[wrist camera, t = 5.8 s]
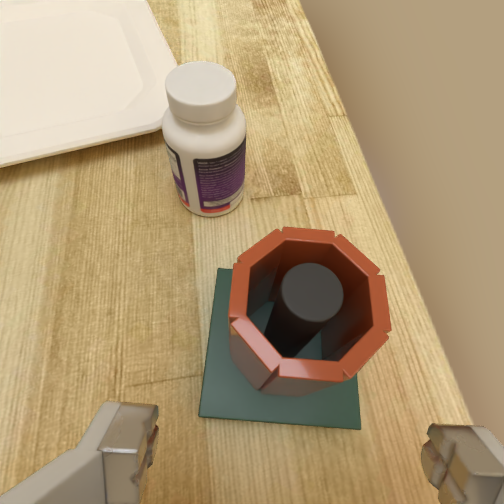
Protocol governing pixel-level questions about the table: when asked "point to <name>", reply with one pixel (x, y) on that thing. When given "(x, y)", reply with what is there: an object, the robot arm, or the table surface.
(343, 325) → the orange hollow octagonal tube
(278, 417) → the post stand
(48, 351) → the table surface
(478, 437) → the robot arm
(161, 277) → the table surface
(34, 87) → the plate
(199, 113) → the pill bottle
